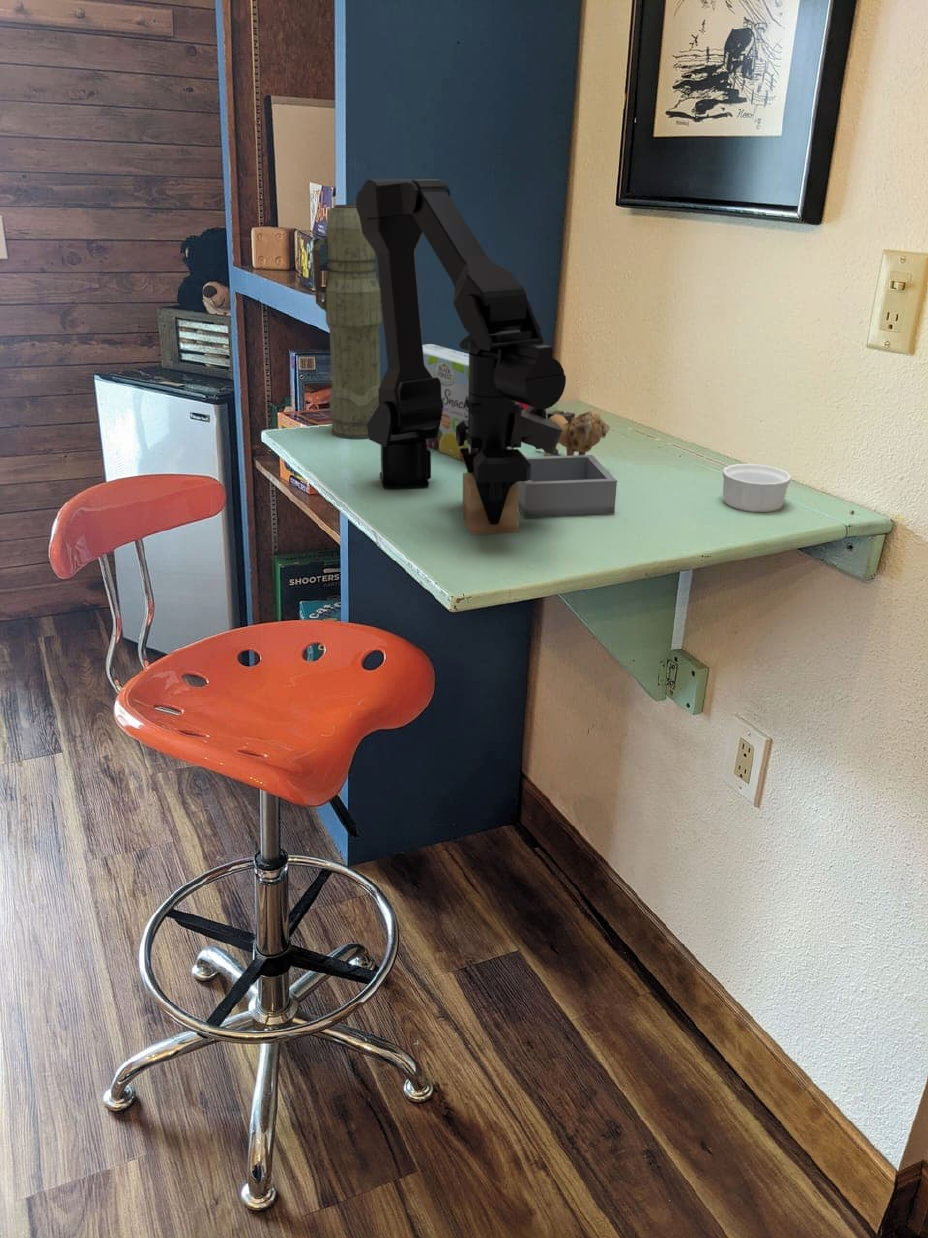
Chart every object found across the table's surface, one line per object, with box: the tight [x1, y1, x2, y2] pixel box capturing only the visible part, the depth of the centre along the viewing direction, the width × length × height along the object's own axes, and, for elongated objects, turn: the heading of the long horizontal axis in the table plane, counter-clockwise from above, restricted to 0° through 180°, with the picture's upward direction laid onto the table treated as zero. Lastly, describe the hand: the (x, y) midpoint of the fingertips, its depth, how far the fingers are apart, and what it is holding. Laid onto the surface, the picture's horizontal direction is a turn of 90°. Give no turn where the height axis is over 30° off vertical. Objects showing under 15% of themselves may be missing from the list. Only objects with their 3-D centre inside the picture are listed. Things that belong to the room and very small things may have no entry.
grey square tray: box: [517, 454, 618, 519], centre depth 135 cm, size 12×12×4 cm
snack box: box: [423, 343, 515, 462], centre depth 154 cm, size 21×6×15 cm, turn 37°
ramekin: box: [722, 463, 792, 513], centre depth 136 cm, size 9×9×4 cm
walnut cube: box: [462, 472, 519, 535], centre depth 126 cm, size 6×6×6 cm
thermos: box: [311, 204, 383, 440], centre depth 160 cm, size 9×12×35 cm
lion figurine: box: [534, 410, 611, 457], centre depth 151 cm, size 15×5×9 cm, turn 36°
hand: (489, 515), depth 127 cm, fingers closed on walnut cube, 6 cm apart
